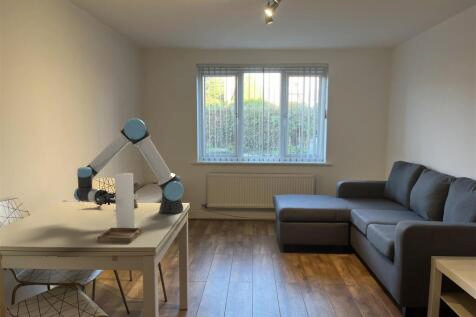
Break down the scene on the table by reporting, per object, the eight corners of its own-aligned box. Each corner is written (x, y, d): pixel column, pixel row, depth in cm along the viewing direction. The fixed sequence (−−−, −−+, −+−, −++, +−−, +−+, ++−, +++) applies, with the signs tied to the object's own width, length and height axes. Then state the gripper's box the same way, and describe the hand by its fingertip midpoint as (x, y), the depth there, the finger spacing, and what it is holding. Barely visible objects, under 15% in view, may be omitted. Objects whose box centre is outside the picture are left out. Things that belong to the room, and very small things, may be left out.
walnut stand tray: (111, 232, 190) (111, 227, 190) (141, 232, 189) (141, 228, 189) (97, 242, 174) (97, 237, 174) (130, 243, 173) (130, 237, 173)
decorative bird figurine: (93, 206, 251) (92, 191, 250) (112, 208, 243) (112, 193, 242) (90, 206, 248) (89, 192, 247) (109, 209, 240) (109, 194, 239)
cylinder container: (124, 231, 192) (122, 174, 189) (112, 228, 197) (110, 173, 194) (138, 227, 200) (136, 172, 197) (126, 224, 205) (124, 171, 202)
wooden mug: (130, 211, 236) (129, 183, 234) (121, 207, 246) (120, 181, 244) (143, 208, 242) (142, 181, 240) (133, 205, 252) (133, 179, 250)
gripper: (114, 198, 215) (144, 201, 207) (81, 207, 193) (113, 211, 184) (114, 186, 215) (144, 188, 207) (81, 193, 192) (113, 196, 184)
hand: (129, 199), depth 195 cm, fingers open, 13 cm apart
